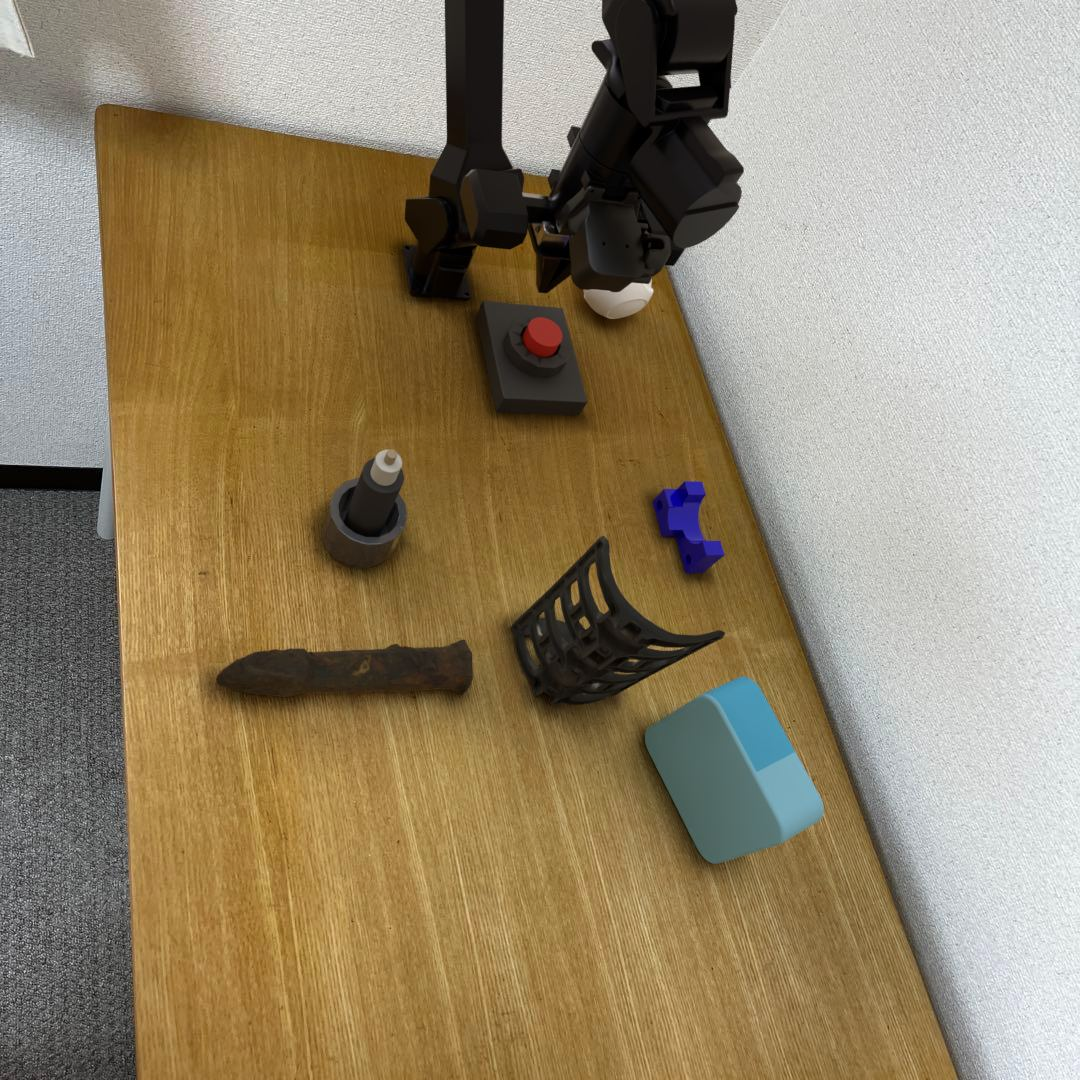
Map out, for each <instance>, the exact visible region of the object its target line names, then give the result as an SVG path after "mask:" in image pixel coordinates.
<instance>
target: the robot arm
mask: <svg viewBox="0 0 1080 1080" xmlns="http://www.w3.org/2000/svg"><path fill="white" fill-rule="evenodd" d="M738 9H739V8H738V5H737V0H601V21H602V23H603V26H604V28H605V30H606V32H607V34H608V36H609V38H607V39H603V40H602V39H601V40H598V39H597V40H594V41H593V42H592V43H591V46H590V47H591V48H590V49H591V51H592V53H593V54H594V56H595V58H597V60H598V61H599V62H600V64H601V65H602V66H603V68H604V70H605V74H604V77H603V79H602V80H601V83H600V85H599V88H598V89H597V92H596V94H595V95H594V98H593V99H592V102H591V105H590V106H589V109H588V111H587V113H586V115H585V118H584V119H583V121H582V123H581V126H574V125H571V126H570V129H569V131H568V133H567V135H566V139H567V142H568V146H569V151H568V153H567V156H566V157H565V160H564V162H563V164H562V167H561V169H556V168H551V170H550V171H549V175H548V177H547V182H548V185H549V189H550V192H549V194H548V195H546V194H537V193H532V192H531V193H530V192H524V191H523V190H524V184H525V175H524V173H523V170H522V169H521V168H519V167H514V166H513V164H512V162H511V159H510V158H509V157H508V155H507V152H506V151H505V149H504V147H503V111H504V109H503V107H504V106H503V103H504V100H503V99H504V48H505V47H504V46H505V45H504V42H505V29H504V28H505V0H444V45H445V46H444V49H445V51H444V53H445V55H444V56H445V105H446V106H445V108H446V109H445V111H446V112H445V115H446V117H445V119H446V141H445V144H444V147H443V149H442V151H441V153H440V155H439V157H438V159H437V161H436V162H435V165H434V166H433V168H432V170H431V172H430V175H429V187H428V195H425V196H417V197H412V198H406V199H405V204H404V206H405V207H404V221H405V223H406V225H407V226H408V228H409V229H410V231H411V232H412V234H413V236H414V237H415V239H416V240H417V241H416V243H415V244H408V243H406V244H403V245H402V248H401V253H402V259H403V264H404V270H405V275H406V281H407V287H408V292H409V294H410V295H411V296H414V297H424V298H434V299H435V298H436V299H444V300H456V301H465V302H468V301H470V300H471V298H472V292H471V286H470V282H469V277H468V271H469V268H470V266H471V263H472V261H473V258H474V255H475V253H476V251H477V248H478V247H481V248H491V249H501V250H512V249H515V248H517V247H518V246H521V245H522V244H523V243H524V241H525V239H526V237H527V235H529V239H530V242H531V246H532V249H533V252H534V254H535V286H536V290H537V292H538V294H549V293H550V292H551V291H552V290H554V289H555V288H556V287H557V286H559V285H560V284H561V283H563V282H564V281H566V279H568V278H569V277H570V279H571V281H572V283H573V285H574V286H575V287H576V288H578V289H580V290H582V291H583V290H591V289H594V290H606V291H611V292H620V291H622V290H623V289H624V288H626V287H627V286H628V285H630V284H631V283H641V284H649V283H650V282H651V279H652V277H655V276H656V275H657V274H659V273H660V272H661V271H662V270H663V268H664V267H665V266H669V267H674V266H675V265H676V264H677V263H678V262H679V260H680V258H681V257H682V255H683V254H684V252H685V251H686V249H688V248H692V247H695V246H697V245H699V244H702V243H704V242H705V241H708V239H710V238H711V237H714V236H715V234H717V233H718V232H720V230H722V229H723V228H724V227H725V226H726V225H727V224H728V223H729V222H730V221H731V219H732V218H733V217H734V216H735V215H736V213H737V212H738V210H739V209H740V204H739V203H740V201H741V199H742V194H743V190H742V188H741V186H740V184H739V183H738V182H739V181H740V179H741V177H742V176H743V174H744V173H745V168H744V166H743V164H741V162H740V161H739V159H738V158H737V157H736V156H735V155H734V154H733V153H732V152H731V151H729V150H728V149H727V148H726V147H725V146H724V144H723V143H722V141H721V140H720V138H719V137H717V135H716V134H715V133H714V131H713V130H712V129H711V127H710V125H709V124H710V121H711V120H719V119H720V120H721V119H726V118H727V117H728V115H729V106H730V105H729V104H730V94H731V93H730V90H731V89H732V66H733V65H732V64H733V53H734V39H735V28H736V16H737V14H738V11H739V10H738ZM694 74H697V75H698V81H699V85H691V86H681V87H678V86H677V87H673V84H672V83H671V82H670V80H669V79H668V78H667V77H666V76H679V75H694Z"/></svg>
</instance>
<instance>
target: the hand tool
mask: <svg viewBox="0 0 1080 1080" xmlns="http://www.w3.org/2000/svg"><path fill="white" fill-rule="evenodd" d="M473 667H474V666H473V652H472V650H471V649H470V648H469V645H468V643H467V641H466V639H463V638H462V639H459V640H457V641H456V642H451V643H450V644H449V645H445V646H426V647H411V646H405V645H404V646H401V645H400V644H398V643H394V644H390V645H388V646H387V647H385V648H374V649H350V650H329V651H307V649H306V648H301V647H300V648H287V649H277V648H273V649H270V650H260V651H256V652H252V653H249V654H247V655H245V656H242V657H241V658H238V659H235V660H234V661H233V662H232V663H230V664H229V665H227V666H225V667H224V668H223V669H222V670H220V672H219V673H218V674H217V675H216V677H215V683H216V684H217V685H218V686H220V687H221V688H225V689H229V690H232V691H237V692H242V693H248V694H253V695H266V696H267V695H268V696H274V697H283V698H289V697H295V696H296V695H300V694H309V693H310V694H311V693H312V694H315V693H325V694H327V693H335V694H336V693H350V694H351V693H353V694H355V693H356V694H357V693H366V692H403V693H404V692H413V691H424V690H452V691H455V692H457V693H458V695H460V696H464V695H465V693H467V692H468V690H469V689H470V688H471V687H472V684H473V679H474V668H473Z"/></svg>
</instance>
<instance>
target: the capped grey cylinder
mask: <svg viewBox="0 0 1080 1080" xmlns="http://www.w3.org/2000/svg"><path fill="white" fill-rule="evenodd" d="M402 467H403V460H402V457H401V456H400V454H398V452H397V450H395V449H393V448H392V449H391V448H390V449H383V450H380V451H379V452H378V453H377V454H376V456H375V457H373V458H370V459H369V460H367V461H366V462H365V463H364V464H363V467H362V469H361V473H360V475H359V477H360V478H359V480H358V483H357V486H356V489H355V491H354V494H353V497H352V500H351V502H350V505H349V508H348V511H347V513H346V516H345V519H344V524H345V526H347V527H348V528H349V529H350V530H352V531H353V532H354V533H356V534H359V535H362V536H365V537H379V536H380V534H381V532H382V530H383V527H384V525H385V523H386V521H387V518H388V516H389V514H390V512H391V509H392V507H393V505H394V503H395V500H396V498H397V496H398V494H400V491H401V489H402V487H403V485H404V482H405V473H404V471H403V469H402Z"/></svg>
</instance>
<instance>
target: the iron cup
mask: <svg viewBox="0 0 1080 1080" xmlns="http://www.w3.org/2000/svg"><path fill="white" fill-rule="evenodd" d="M359 478H360V476H359V477H354V478H352V479H349V480H347V481H344V482H343V483H341V484H340V485H339V486H338V487H337V489H335V490H334V492H333V493H332V496H331V498H330V502H329V505H328V507H327V510H326V514H325V517H324V520H323V523H322V527H321V538H322V543H323V545H324V547H325V550H327V551H328V554H329V555H330V557H332V558H333V559H334V560H335V561H337V562H338V563H340V564H342V565H343V566H346V567H349V568H353V569H370V568H375V567H377V566H379V565H381V564H383V563H384V562H386V560H388V558H389V557H390V556H391V555H392V554H393V552H394V550H395V548H396V546H397V544H398V542H399V540H400V538H401V536H402V534H403V532H404V529H405V527H406V523H407V520H408V512H407V505H406V502H405V501H404V499H403V497H402V495H401V494H400V493H399V494H398V496H397V498H396V500H395V503H394V505H393V507H392V509H391V512H390V514H389V516H388V518H387V521H386V523H385V525H384V527H383V530H382V532H381V534H380V536H379V537H365V536H362V535H359V534H356V533H354V532H353V531H352V530H350V529H349V528H348V527H347V526H345V524H344V519H345V516H346V513H347V511H348V508H349V505H350V502H351V500H352V497H353V494H354V491H355V489H356V486H357V483H358V480H359Z"/></svg>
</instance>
